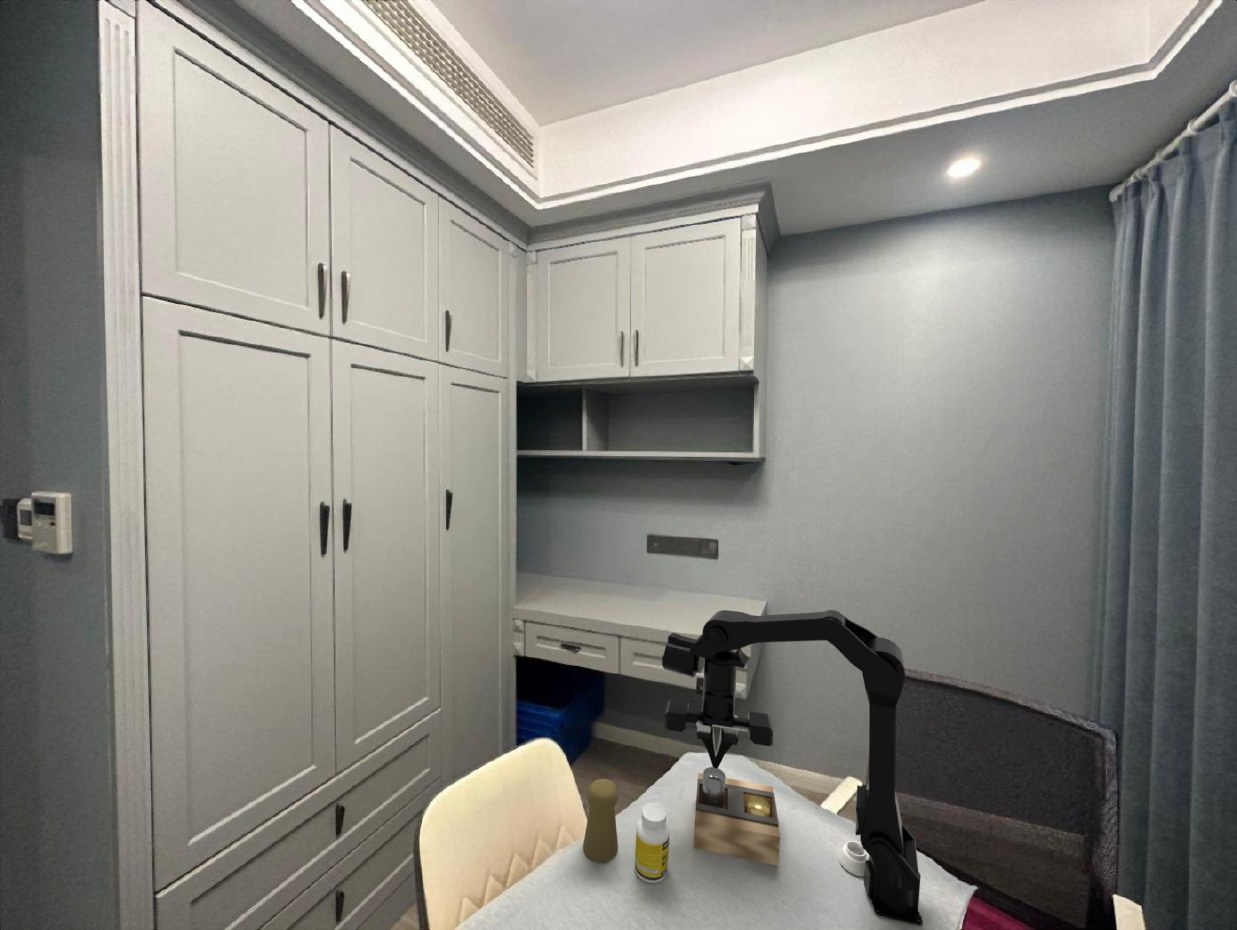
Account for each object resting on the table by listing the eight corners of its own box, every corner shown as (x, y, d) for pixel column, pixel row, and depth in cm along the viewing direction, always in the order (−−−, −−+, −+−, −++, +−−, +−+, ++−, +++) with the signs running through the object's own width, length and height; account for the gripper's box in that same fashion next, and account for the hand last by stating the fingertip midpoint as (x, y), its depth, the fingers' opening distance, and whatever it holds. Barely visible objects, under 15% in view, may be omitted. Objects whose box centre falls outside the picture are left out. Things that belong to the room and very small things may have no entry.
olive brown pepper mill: (586, 830, 85) (589, 770, 84) (620, 835, 84) (623, 775, 83) (579, 859, 79) (581, 795, 78) (615, 865, 78) (618, 801, 77)
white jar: (878, 874, 78) (854, 849, 83) (879, 857, 78) (855, 833, 83) (854, 882, 77) (831, 856, 82) (855, 864, 77) (832, 839, 81)
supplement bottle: (665, 888, 74) (668, 828, 74) (631, 881, 75) (634, 821, 75) (669, 859, 80) (672, 802, 79) (637, 852, 81) (639, 796, 80)
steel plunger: (724, 794, 88) (725, 769, 88) (724, 810, 85) (725, 784, 84) (702, 790, 89) (703, 765, 89) (701, 806, 85) (702, 780, 85)
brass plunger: (767, 824, 87) (769, 799, 87) (769, 842, 83) (771, 816, 83) (745, 820, 88) (746, 795, 88) (746, 837, 84) (747, 811, 84)
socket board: (771, 811, 91) (772, 784, 90) (778, 866, 79) (780, 834, 79) (696, 797, 94) (698, 771, 93) (693, 847, 82) (694, 817, 82)
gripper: (769, 669, 92) (764, 748, 93) (672, 657, 96) (668, 732, 96) (775, 700, 81) (770, 788, 82) (666, 684, 85) (662, 768, 86)
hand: (715, 766), depth 87 cm, fingers closed
